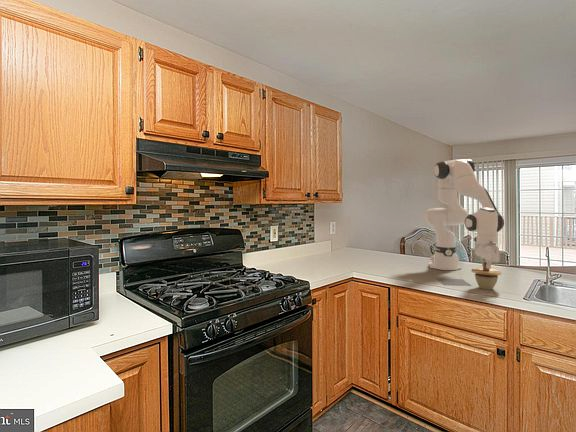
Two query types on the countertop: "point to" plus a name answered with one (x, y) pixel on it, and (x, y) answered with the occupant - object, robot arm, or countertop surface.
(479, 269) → the lid
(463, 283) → the mat
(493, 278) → the olive bowl
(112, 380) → the countertop surface
